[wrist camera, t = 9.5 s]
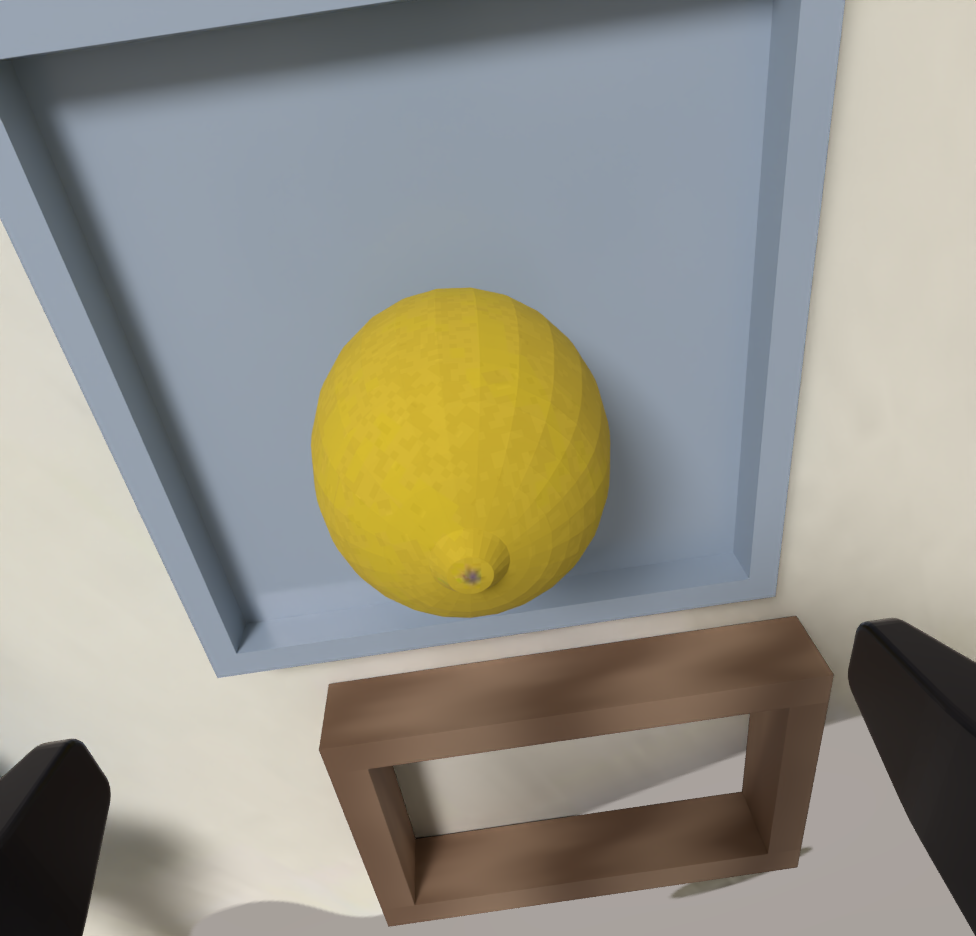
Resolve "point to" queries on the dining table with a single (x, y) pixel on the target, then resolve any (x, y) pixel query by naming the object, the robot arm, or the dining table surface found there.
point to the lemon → (461, 453)
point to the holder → (571, 715)
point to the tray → (423, 267)
